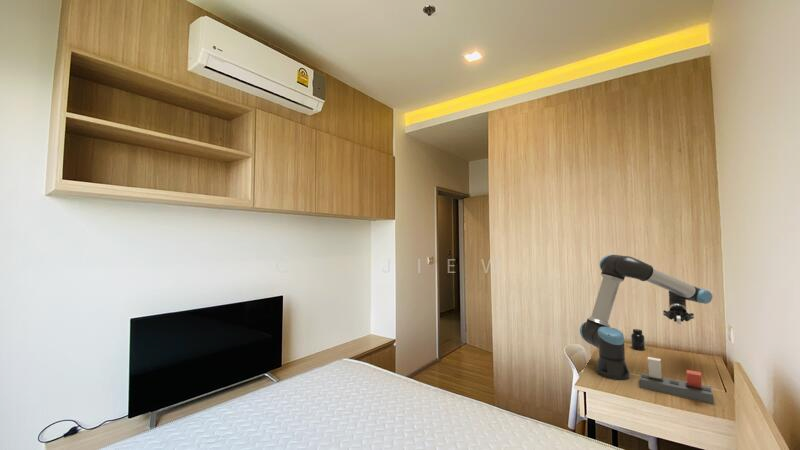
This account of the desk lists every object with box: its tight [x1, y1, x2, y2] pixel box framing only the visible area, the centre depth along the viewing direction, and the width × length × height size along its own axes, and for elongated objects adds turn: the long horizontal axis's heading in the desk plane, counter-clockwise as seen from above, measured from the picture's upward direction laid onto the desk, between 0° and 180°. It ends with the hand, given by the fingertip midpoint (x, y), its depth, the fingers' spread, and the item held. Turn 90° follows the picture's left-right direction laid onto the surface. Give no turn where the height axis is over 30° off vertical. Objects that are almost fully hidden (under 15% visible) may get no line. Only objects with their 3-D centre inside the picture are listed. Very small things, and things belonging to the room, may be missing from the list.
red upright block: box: [686, 369, 702, 388], centre depth 147 cm, size 5×2×10 cm
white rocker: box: [647, 356, 663, 379], centre depth 157 cm, size 5×2×10 cm, turn 50°
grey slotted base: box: [639, 372, 715, 405], centre depth 154 cm, size 26×9×4 cm, turn 50°
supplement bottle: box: [630, 328, 646, 351], centre depth 208 cm, size 7×7×12 cm
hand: (678, 321), depth 165 cm, fingers closed
